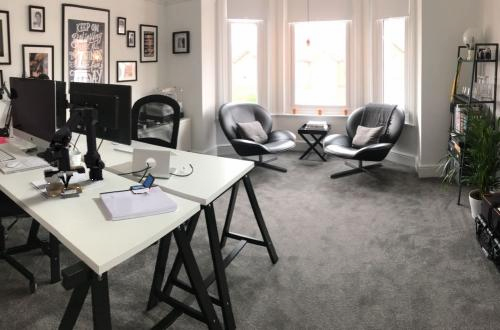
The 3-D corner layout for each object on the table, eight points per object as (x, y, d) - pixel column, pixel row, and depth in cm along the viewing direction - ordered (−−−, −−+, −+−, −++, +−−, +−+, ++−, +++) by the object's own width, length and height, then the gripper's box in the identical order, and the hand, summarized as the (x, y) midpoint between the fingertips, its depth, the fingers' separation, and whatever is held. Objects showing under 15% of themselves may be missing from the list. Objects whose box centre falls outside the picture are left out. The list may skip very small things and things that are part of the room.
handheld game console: (129, 188, 225) (128, 174, 223) (150, 186, 230) (149, 172, 228) (134, 194, 214) (133, 180, 212) (155, 192, 219) (155, 178, 217)
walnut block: (62, 190, 219) (61, 182, 218) (64, 193, 214) (63, 184, 213) (49, 192, 216) (48, 183, 215) (51, 195, 211) (50, 186, 210)
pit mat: (77, 193, 215) (77, 192, 215) (79, 196, 210) (79, 195, 210) (60, 195, 211) (60, 194, 211) (61, 198, 206) (61, 198, 206)
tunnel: (78, 187, 225) (78, 181, 224) (82, 192, 216) (81, 186, 215) (46, 191, 218) (45, 185, 217) (47, 196, 208) (47, 190, 208)
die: (61, 182, 236) (49, 168, 234) (68, 177, 231) (55, 163, 229) (50, 190, 230) (37, 177, 228) (56, 185, 225) (43, 171, 223)
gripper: (80, 153, 224) (83, 181, 228) (41, 156, 216) (44, 186, 219) (84, 157, 215) (86, 187, 219) (43, 161, 206) (46, 192, 210)
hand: (66, 188), depth 217 cm, fingers closed
